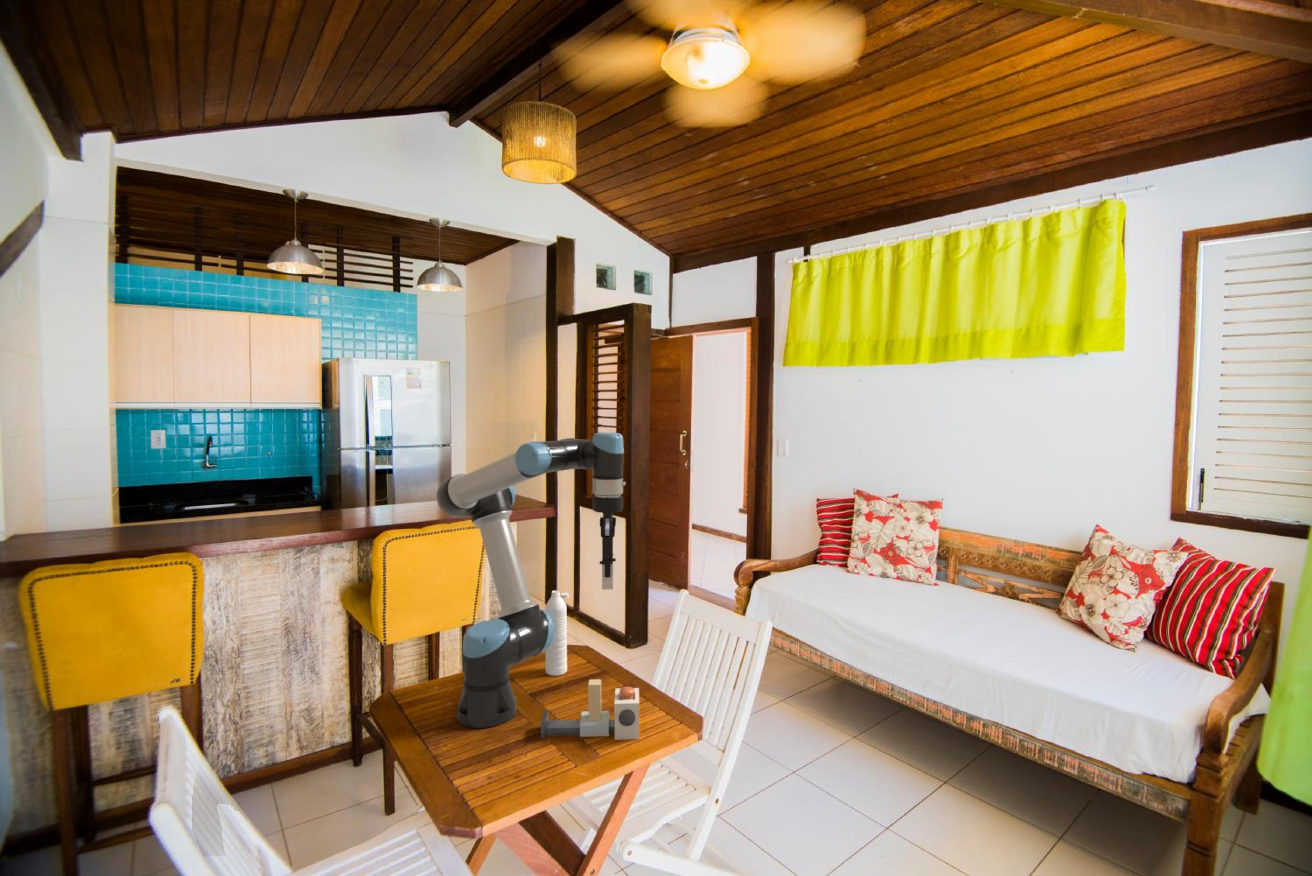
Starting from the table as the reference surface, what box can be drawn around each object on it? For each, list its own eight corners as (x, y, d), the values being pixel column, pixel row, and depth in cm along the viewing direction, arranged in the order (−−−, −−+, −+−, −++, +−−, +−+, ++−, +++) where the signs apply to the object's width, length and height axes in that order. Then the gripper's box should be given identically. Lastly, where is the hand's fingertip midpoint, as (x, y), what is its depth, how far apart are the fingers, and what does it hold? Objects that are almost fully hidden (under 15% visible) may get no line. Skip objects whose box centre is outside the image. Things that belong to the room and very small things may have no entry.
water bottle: (541, 671, 188) (540, 591, 187) (558, 665, 193) (557, 586, 191) (559, 680, 182) (558, 597, 181) (576, 673, 187) (575, 592, 186)
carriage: (579, 736, 151) (579, 688, 150) (582, 722, 157) (581, 676, 157) (608, 736, 151) (608, 688, 150) (609, 721, 158) (609, 675, 157)
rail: (541, 739, 151) (540, 723, 150) (544, 726, 157) (544, 710, 156) (618, 737, 151) (618, 721, 151) (619, 724, 157) (619, 709, 157)
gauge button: (619, 718, 152) (619, 693, 152) (620, 711, 156) (619, 686, 156) (634, 718, 152) (634, 693, 152) (634, 711, 156) (634, 686, 156)
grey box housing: (614, 740, 150) (614, 704, 149) (615, 722, 158) (615, 688, 158) (639, 740, 150) (639, 704, 150) (638, 722, 159) (638, 688, 158)
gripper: (623, 499, 146) (622, 596, 148) (623, 491, 159) (622, 580, 161) (591, 499, 146) (590, 597, 148) (594, 491, 159) (593, 580, 161)
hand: (607, 588), depth 154 cm, fingers closed
